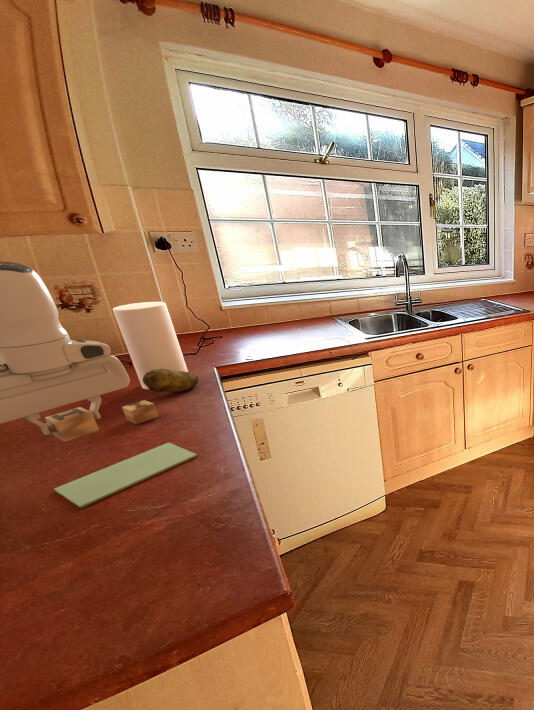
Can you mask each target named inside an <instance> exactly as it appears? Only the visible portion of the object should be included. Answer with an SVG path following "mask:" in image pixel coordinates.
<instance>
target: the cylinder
mask: <svg viewBox="0 0 534 710" xmlns="http://www.w3.org/2000/svg"><path fill="white" fill-rule="evenodd" d="M167 306H168V305H167V304H166V302H164V301H145V302H134V303H127V304H122V305H118V306H115V307H112V311H113V314H114V317H115V319H116V322H117V325H118V327H119V330H120V333H121V335H122V338H123V341H124V344H125V346H126V349H127V352H128V354H129V357H130V359H131V362H132V365H133V368H134V370H135V372H136V376H137V378H138V381H139V383H140V386H141V388H142V389H144V390H150V389H148V387H147V386H146V385H145V384H144V383H143V377H144V375H145V374H146V373H147V372H149V371H151V370H155V369H168V370H173V371H186V372H189V370H188V367H187V364H186V361H185V358H184V355H183V352H182V348H181V345H180V342H179V340H178V336H177V333H176V330H175V328H174V327H175V326H174V324H173V322H172V318H171V315H170V313H169V309H168V307H167ZM150 391H151V390H150Z"/></svg>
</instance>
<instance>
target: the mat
mask: <svg viewBox="0 0 534 710" xmlns="http://www.w3.org/2000/svg"><path fill="white" fill-rule="evenodd" d="M197 457H198V454H197V453H195V452H192V451H190V450H188V449H186V448H183V447H181V446H179V445H176V444H174V443H172V442H167V443H163V444H162V445H158V446H156V447H154V448H152V449H151V448H150V449H148V450H146V451H144V452H141V453H139V454H137V455H134V456H132V457H129V458H126V459H123V460H122V461H119V462H117V463H114V464H112V465H109V466H107V467H104V468H102V469H100V470H99V469H98V470H96V471H95V472H91V473H90V474H86V475H84V476H82V477H79V478H77V479H74V480H72V481H70V482H67V483H65V484H64V483H63V484H62V485H59V486H57V487H55V488H53V491H54V492H56V493H57V494H59V495H60V496H62V497H63V498H65V499H66V500H67V501H69V502H70V503H72V504H73V505H75V506H77V508H80V509H83V508H85V507H88V506H89V505H92V504H95V503H97V502H99V501H100V500H104V499H106V498H107V497H109V496H113V495H114V494H117V493H118V492H121V491H123V490H125V489H128V488H130V487H132V486H134V485H136V484H139V483H141V482H144V481H145V480H148V479H150V478H153V477H154V476H157V475H159V474H161V473H163V472H166V471H167V470H170V469H172V468H175V467H177V466H179V465H182V464H184V463H185V462H188V461H190V460H192V459H195V458H197Z"/></svg>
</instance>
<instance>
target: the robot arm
mask: <svg viewBox="0 0 534 710" xmlns="http://www.w3.org/2000/svg"><path fill="white" fill-rule="evenodd" d="M111 353H112V350H111V347H110V346H109V345H108V344H107V343H104V342H100V341H97V340H85V339H71V338H70V335H69V333H68V332H67V330H66V329H65V328H64V327H63V325H62V324H61V321H60V319H59V310H58V308H57V306H56V304H55V301H54V299H53V297H52V295H51V293H50V291H49V289H48V288H47V286H46V284H45V282H44V281H43V279H42V278H41V276H40V275H39V274H38V273H37V272H36V271H35V270H34V269H33V268H31V267H30V266H28V265H25V264H22V263H18V262H11V261H0V358H1V360H2V362H3V364H0V425H1V424H5V423H9V422H12V421H15V420H19V419H22V418H25V420H27V421H29V422H31V423H32V424H34V425H37V426H38V427H39V428H40V430H41V432H42V434H43V435H44V436H49V435H51V434H52V435H53V433H55V432H57V430H56V429H55V426H54V424H53V423H50V422H48V423H47V422H45V423H44V422H42V421H40V420H39V419H41V418H42V417H41V415H40V413H43V412H46V411H50V410H53V409H57V408H60V407H64V406H67V405H71V404H74V403H78V402H81V401H84V400H87V401H88V402H90V404H89V405H90V406H89V409H87V410H88V411H90V412H91V413H92V415H93V417H94V419H95V420H97V419H98V420H99V419H101V414H100V412H99V409H100V407H101V404H102V401H103V400H102V397H101V395H104V394H108V393H112V392H115V391H118V390H122V389H125V388H128V387H129V385H130V383H131V379H130V377H129V374H128V372H127V370H126V368H125V367H124V364H122V362H121V360H120V359H119V358H118V357H116V356H114V355H111Z"/></svg>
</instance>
